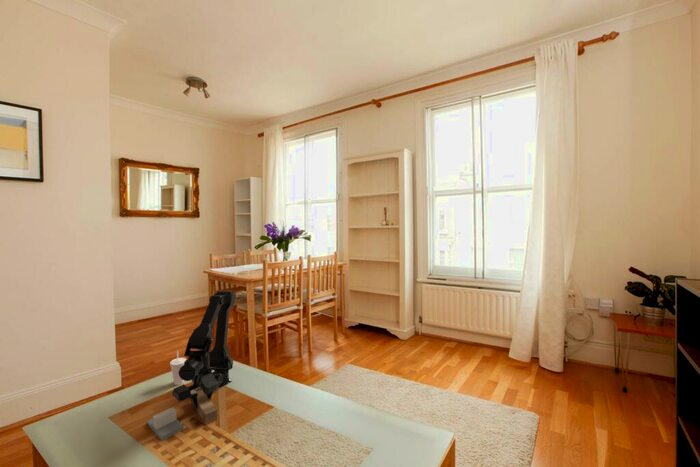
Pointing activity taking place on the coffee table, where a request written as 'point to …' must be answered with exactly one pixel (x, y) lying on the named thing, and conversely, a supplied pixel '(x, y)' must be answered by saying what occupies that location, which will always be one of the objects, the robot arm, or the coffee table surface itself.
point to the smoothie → (177, 369)
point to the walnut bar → (205, 408)
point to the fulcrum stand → (165, 423)
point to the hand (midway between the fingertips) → (202, 405)
